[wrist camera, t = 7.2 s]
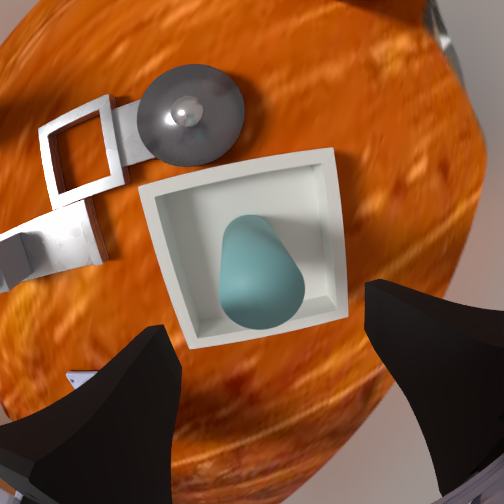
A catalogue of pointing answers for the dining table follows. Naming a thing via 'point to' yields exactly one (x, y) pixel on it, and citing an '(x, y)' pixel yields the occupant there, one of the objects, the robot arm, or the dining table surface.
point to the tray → (249, 203)
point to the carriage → (13, 263)
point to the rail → (62, 239)
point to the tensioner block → (153, 128)
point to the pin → (258, 275)
